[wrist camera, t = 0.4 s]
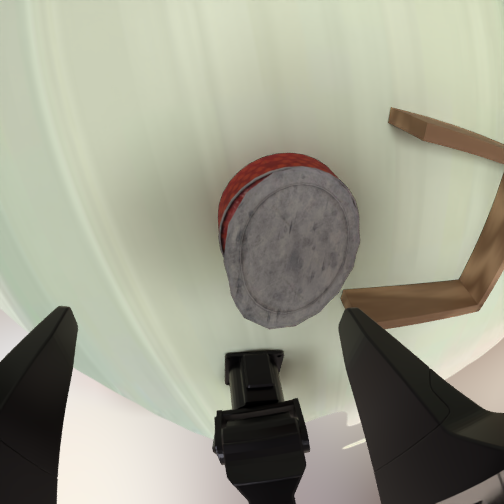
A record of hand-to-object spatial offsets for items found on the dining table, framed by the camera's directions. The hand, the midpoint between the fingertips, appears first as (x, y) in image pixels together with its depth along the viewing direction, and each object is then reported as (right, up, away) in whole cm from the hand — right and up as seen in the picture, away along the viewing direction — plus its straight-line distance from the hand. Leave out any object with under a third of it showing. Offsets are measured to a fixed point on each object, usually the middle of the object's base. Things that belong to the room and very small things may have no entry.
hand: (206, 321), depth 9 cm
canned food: (+4, +5, +14) cm, 15 cm away
